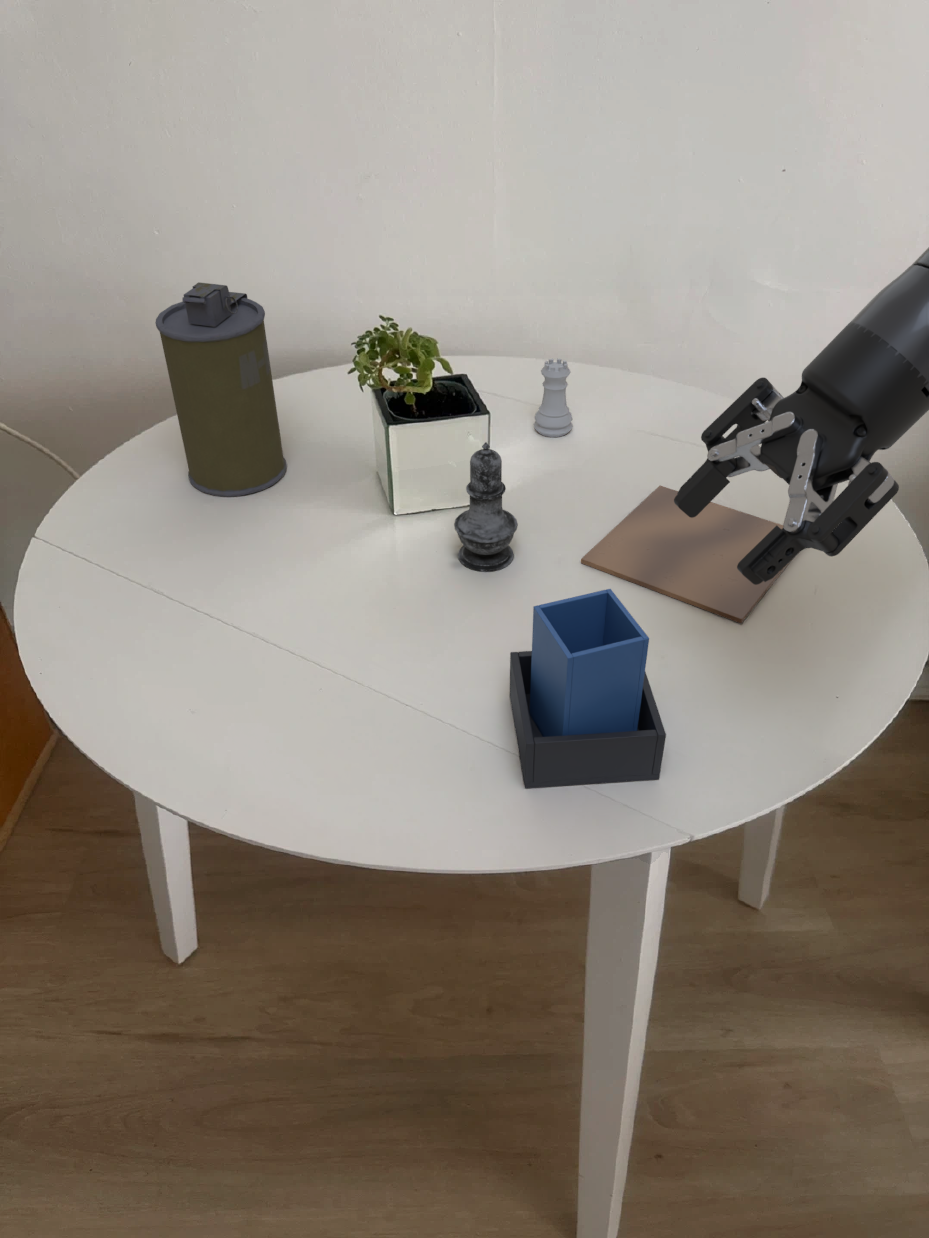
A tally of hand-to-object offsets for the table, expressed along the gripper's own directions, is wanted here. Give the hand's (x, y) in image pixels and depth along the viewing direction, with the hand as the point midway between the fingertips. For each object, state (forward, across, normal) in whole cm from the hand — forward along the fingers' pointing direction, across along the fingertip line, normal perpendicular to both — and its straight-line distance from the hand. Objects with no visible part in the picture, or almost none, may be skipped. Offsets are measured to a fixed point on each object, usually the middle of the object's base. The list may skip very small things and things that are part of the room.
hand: (712, 542), depth 68 cm
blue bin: (+17, 0, +4) cm, 17 cm away
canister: (+30, -49, -8) cm, 58 cm away
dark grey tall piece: (+16, -25, +6) cm, 30 cm away
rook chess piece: (+5, -46, +17) cm, 49 cm away
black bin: (+17, 0, +5) cm, 18 cm away
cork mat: (+3, -19, +19) cm, 27 cm away
